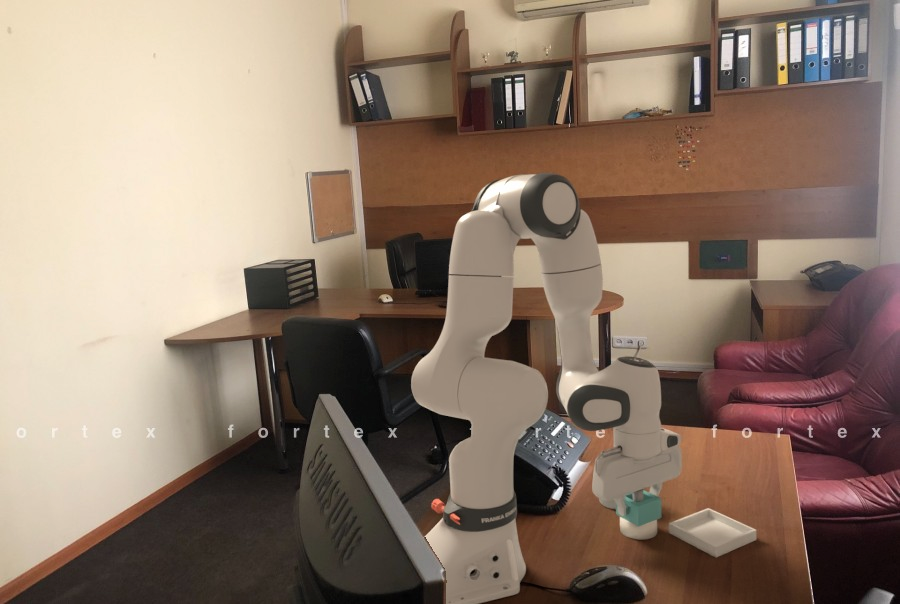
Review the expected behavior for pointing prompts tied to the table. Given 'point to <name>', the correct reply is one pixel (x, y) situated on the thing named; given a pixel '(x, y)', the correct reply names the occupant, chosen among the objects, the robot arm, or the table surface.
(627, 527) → the peg stand
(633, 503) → the teal hollow block
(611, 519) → the table surface
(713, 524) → the tray
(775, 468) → the table surface
